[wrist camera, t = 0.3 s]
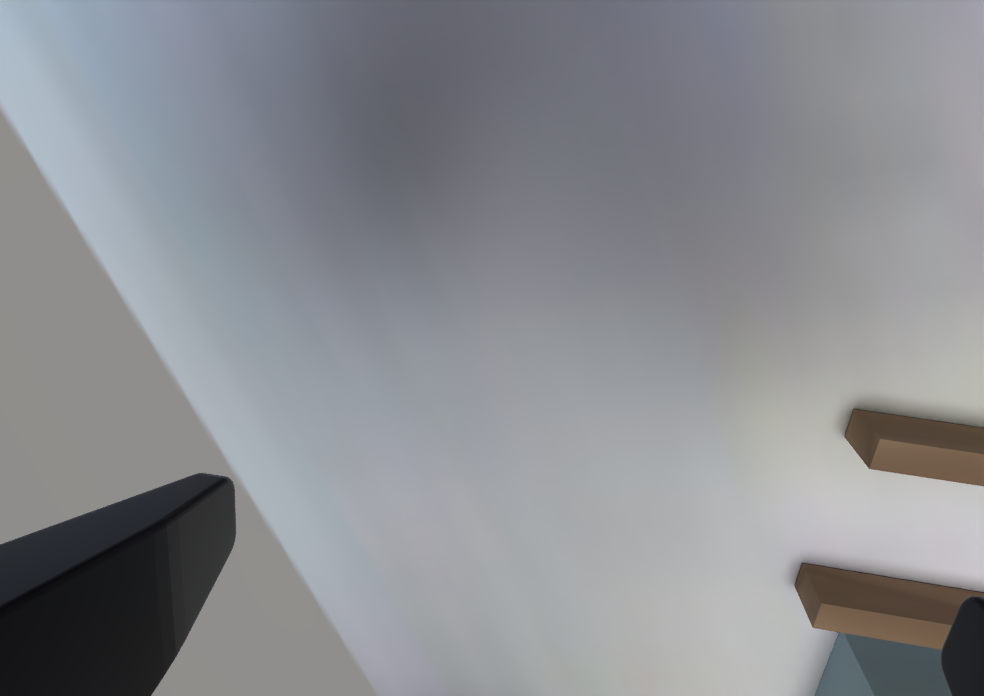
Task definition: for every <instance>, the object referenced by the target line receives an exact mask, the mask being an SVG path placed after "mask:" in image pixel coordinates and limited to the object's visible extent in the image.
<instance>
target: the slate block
mask: <svg viewBox="0 0 984 696" xmlns="http://www.w3.org/2000/svg"><path fill="white" fill-rule="evenodd" d="M941 652H942V650H941V649H935V648H929V647H923V646H917V645H912V644H906V643H900V642H894V641H888V640H882V639H876V638H871V637H865V636H859V635H853V634H847V633H841V632H839V634H838V637H837V639H836V642H835V644H834V647H833V649H832V652H831V655H830V657H829V660H828V662H827V665H826V668H825V670H824V673H823V675H822V678H821V681H820V683H819V686H818V688H817V691H816V694H815V696H952V695H951V693H950V690H949V687H948V685H947V682H946V679H945V676H944V674H943V670H942V665H941Z"/></svg>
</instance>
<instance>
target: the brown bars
mask: <svg viewBox="0 0 984 696" xmlns="http://www.w3.org/2000/svg"><path fill="white" fill-rule="evenodd" d="M845 438H846V439H847V441H848V442H849V443H850V445H851V446H852V447H853V448H854V450H855V451H856V452H857V454H858V455H859V456H860V457H861V459H862V460H863V461H864V463H865V464H866V465H867V466H868V468H869V469H874V470H880V471H887V472H893V473H900V474H907V475H913V476H920V477H926V478H933V479H940V480H946V481H953V482H959V483H966V484H972V485H979V486H984V428H980V427H973V426H967V425H960V424H953V423H946V422H939V421H932V420H925V419H918V418H912V417H905V416H898V415H891V414H884V413H877V412H870V411H863V410H857V409H854V410H853V413H852V416H851V419H850V422H849V425H848V428H847V431H846V434H845ZM795 588H796V590H797V592H798V595H799V597H800V599H801V602H802V604H803V606H804V609H805V611H806V613H807V615H808V618H809V620H810V622H811V625H812V627H813V628H818V629H824V630H830V631H835V632H841V633H847V634H853V635H859V636H865V637H871V638H876V639H882V640H888V641H894V642H900V643H906V644H912V645H917V646H923V647H929V648H935V649H941V650H942V648H943V645H944V642H945V640H946V638H947V635H948V633H949V631H950V628H951V626H952V623H953V621H954V619H955V616H956V614H957V612H958V609H959V607H960V605H961V603H962V601H964V600H965V599H966V598H967V597H970V596H982V597H984V593H981V592H975V591H969V590H963V589H957V588H951V587H945V586H938V585H932V584H926V583H920V582H914V581H908V580H902V579H896V578H890V577H883V576H877V575H871V574H865V573H859V572H853V571H847V570H841V569H835V568H828V567H822V566H816V565H810V564H804V563H802V566H801V569H800V572H799V575H798V578H797V581H796V584H795Z"/></svg>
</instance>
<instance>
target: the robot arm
mask: <svg viewBox="0 0 984 696" xmlns="http://www.w3.org/2000/svg"><path fill="white" fill-rule="evenodd" d="M235 537H236V514H235V489H234V484H233V481H231V479H230V478H228V477H225V476H219V475H213V474H206V473H198V474H195V475H192V476H189V477H186V478H184V479H181V480H178V481H175V482H172V483H170V484H167V485H164V486H161V487H159V488H156V489H153V490H151V491H147V492H145V493H142V494H139V495H136V496H134V497H131V498H128V499H125V500H122V501H120V502H117V503H114V504H111V505H109V506H106V507H103V508H100V509H98V510H95V511H92V512H89V513H86V514H84V515H81V516H78V517H75V518H73V519H70V520H67V521H64V522H62V523H59V524H56V525H53V526H50V527H48V528H45V529H42V530H39V531H37V532H34V533H31V534H28V535H25V536H23V537H20V538H18V539H14V540H12V541H9V542H6V543H4V544H0V696H151V695H152V693H153V692H154V690H155V689H156V687H157V686H158V684H159V683H160V681H161V680H162V678H163V677H164V675H165V674H166V672H167V670H168V669H169V667H170V665H171V664H172V662H173V661H174V659H175V658H176V656H177V654H178V652H179V651H180V648H181V647H182V645H183V643H184V642H185V640H186V638H187V636H188V634H189V632H190V630H191V628H192V626H193V624H194V622H195V620H196V618H197V617H198V615H199V613H200V611H201V609H202V607H203V605H204V603H205V601H206V599H207V597H208V595H209V593H210V591H211V590H212V587H213V586H214V584H215V582H216V580H217V578H218V576H219V574H220V572H221V570H222V568H223V566H224V564H225V563H226V561H227V559H228V557H229V555H230V553H231V551H232V548H233V545H234V542H235ZM941 665H942V670H943V674H944V676H945V679H946V682H947V685H948V687H949V690H950V693H951V695H952V696H984V597H982V596H970V597H967V598H966V599H965V600H964V601H962V603H961V605H960V607H959V609H958V612H957V614H956V616H955V619H954V621H953V623H952V626H951V628H950V631H949V633H948V635H947V638H946V640H945V642H944V645H943V648H942V652H941Z"/></svg>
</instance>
